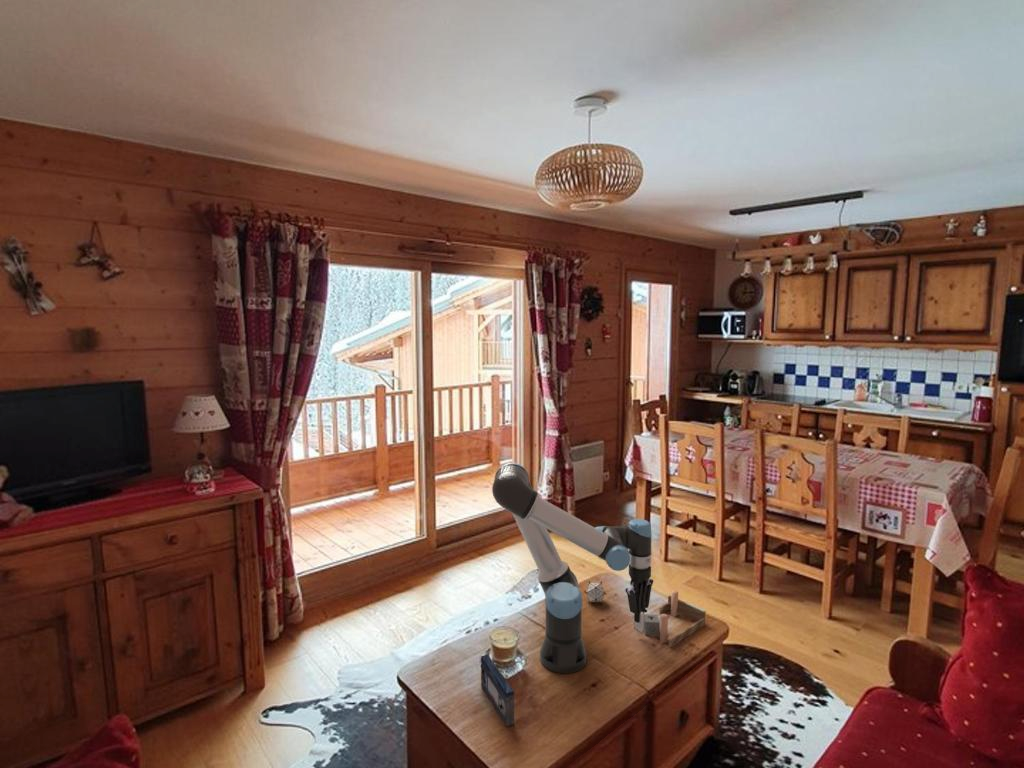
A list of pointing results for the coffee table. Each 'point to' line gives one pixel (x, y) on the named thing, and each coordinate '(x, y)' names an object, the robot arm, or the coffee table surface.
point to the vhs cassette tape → (497, 690)
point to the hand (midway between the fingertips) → (639, 629)
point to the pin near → (664, 628)
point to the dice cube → (651, 625)
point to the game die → (595, 592)
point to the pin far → (674, 603)
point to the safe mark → (695, 607)
